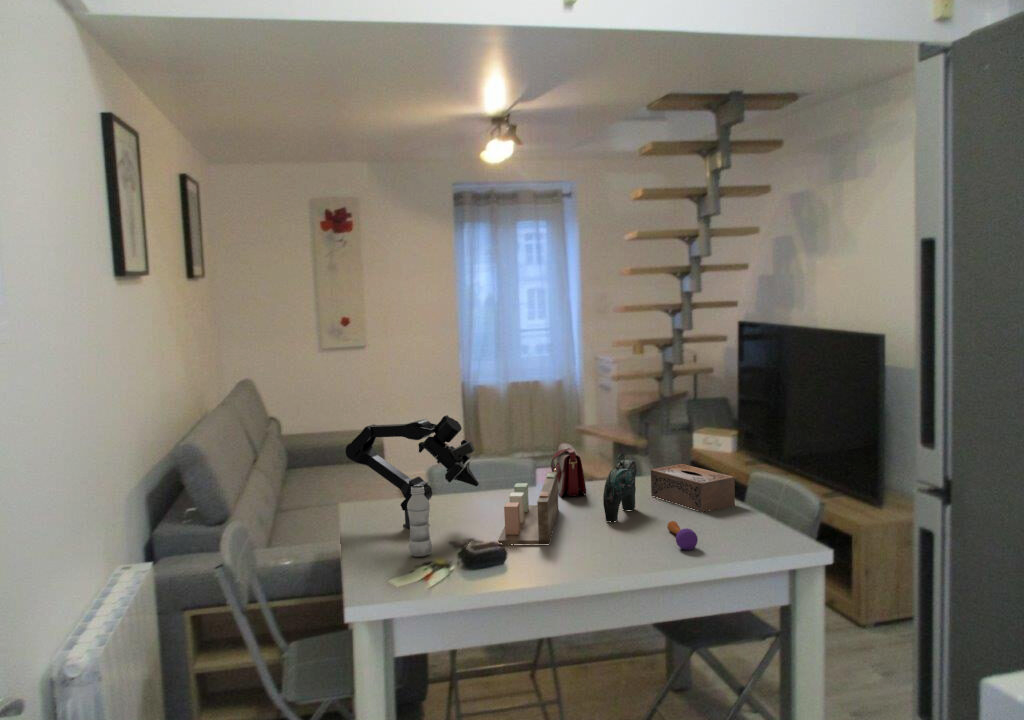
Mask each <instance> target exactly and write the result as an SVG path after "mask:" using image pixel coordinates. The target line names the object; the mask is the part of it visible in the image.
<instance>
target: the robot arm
mask: <svg viewBox="0 0 1024 720" xmlns="http://www.w3.org/2000/svg"><path fill="white" fill-rule="evenodd" d="M462 430H463V429H462V425H461V424H460V422H459V421H458V420H456V419H454V418H452V417H450V416H449V415H447V414H446V415H443V417H442V418H441V419H440V421H439V422H438V423H432V422H431V421H429V420H428V419H426V418H425V419H420V420H416V421H411V422H408V423H398V424H397V423H396V424H395V423H393V424H392V423H391V424H375V423H373V424H370V425H366V426H365V427H364V428H363V429H362V430H361V432H359V434H358V435H357V436H356V437H355V438H354V439H353V440H352V441H351V442H350V443H348V444H347V445H346V447H345V456H346V458H347V459H348V460H350V461H351V462H354V463H356V464H358V465H359V464H360V465H364V466H367V467H368V468H370V469H371V470H372V471H374V472H375V473H377V474H378V475H380V477H382V478H384V479H385V480H386V481H387V482H389V483H390V484H392V485H393V486H395V487H396V488H397V489H398V490H400V492H401V493H402V495H403V496H402V497H403V498H404V500H403V501H401V503H400V507H401V510H402V511H404V523H403V524H402V526H403V527H404V526H405V527H404V528H407V529H409V530H410V521H409V515H408V509H407V504H408V501H409V499H410V498H411V496H412V494H411V487H412V486H417V485H421V486H424V491H425V493H424V496H425V497H426V498H427V499H428V501H429V502H430V500H431V499H432V496H433V489H432V486H431V485H429V482H427V481H425V480H424V479H423V478H422V477H420V476H417V477H415V478H412V477H411V478H410V477H409V476H408V475H406V474H405V473H404V472H402V471H401V470H399V469H398V468H396V467H395V466H394V465H392V464H391V463H390V462H388V461H386V459H384V458H383V457H381V456H380V455H379V454H377V452H376V450H375V448H374V444H375V443H376V439H377V438H397V437H398V438H399V437H401V438H405V439H408V440H413V441H421V440H423V439H425V438H426V439H425V440H424V441H421V442H419V443H418V453H420V454H421V453H422V452H423V451H424V450H426V451H427V452H428V453H429V455H431V456H432V457H433V458H434V459H435V460H436V463H437V464H439V465H442V466H443V467H444V468H445V469H446V473H445V474H444V476H445V477H444V478H445V480H446V481H447V482H448V483H449V484H450V483H452V482H453V480H454V481H459V482H461V483H462V482H463V483H466V484H469V485H471V486H474V487H478V486H479V484H480V482H479V481H478V480H477V478H476V476H475V475H474V474H473V472H472V471H471V470H472V469H470V468H471V467H470V463H471V462H470V461H469V460H470V459H471V455H470V454H472V453H474V451H475V450H476V449H475V447H474V445H473V442H472V441H471V440H468V439H466V438H464V439H463V440H461V441H460V445H458V446H457V447H454V446H453V445H448V444H447V443H451V442H452V440H454V438H455V437H456V436H457V435H458V434H459V433H460V432H461V431H462ZM432 434H434V435H433V436H431V435H432ZM429 527H430V523H429Z"/></svg>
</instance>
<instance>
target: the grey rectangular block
mask: <svg viewBox="0 0 1024 720" xmlns="http://www.w3.org/2000/svg"><path fill="white" fill-rule="evenodd" d="M516 502H519V509H520V523H523V522H524V519H525V511H524V492H514V491H513V492H511V493H510V494H509V503H516Z"/></svg>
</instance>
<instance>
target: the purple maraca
mask: <svg viewBox="0 0 1024 720" xmlns="http://www.w3.org/2000/svg"><path fill="white" fill-rule="evenodd" d="M666 526H667V530H668V532H670V531H671V533H673V534H674V535H675V534H676V536H675V542H676V545H677V546H678V547H679V548H680V549H681V550H683V549H684V550H683V551H691V550H693V549H695V548H696V546H697V544H698V542H699V541H698V536H697V533H696V532H694V530H692V529H690V528H682V529H681V527H680V525H678V522H677V521H674V520H671V521H669V522H668V523H667V525H666Z"/></svg>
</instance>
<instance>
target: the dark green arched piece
mask: <svg viewBox="0 0 1024 720" xmlns="http://www.w3.org/2000/svg"><path fill="white" fill-rule="evenodd" d="M621 456H622V458H623V459H622V460H617V463H618V464H617V466H614V467H613V468H612V469H610V471H609V474H608V475H607V478H606V480H605V484H604V488H603V489H604V490H603V495H602V497H603V499H602V501H603V502H602V503H603V509H604V510H603V511H604V515H605V522H606V521H611V522H614V521H616V520H617V521H618V519H619V510H620V505H621V507H622V510H623V509H624V510H633V509H634V508H635V509H636V493H637V492H636V476H637V464H636V462H635V461H634V460H630V459H629V457H627V456H626V455H624V454H623V453H620V454H619V455H618V457H617V458H618V459H621ZM635 509H634V510H635ZM624 510H623V511H624ZM634 510H633V511H634Z"/></svg>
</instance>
